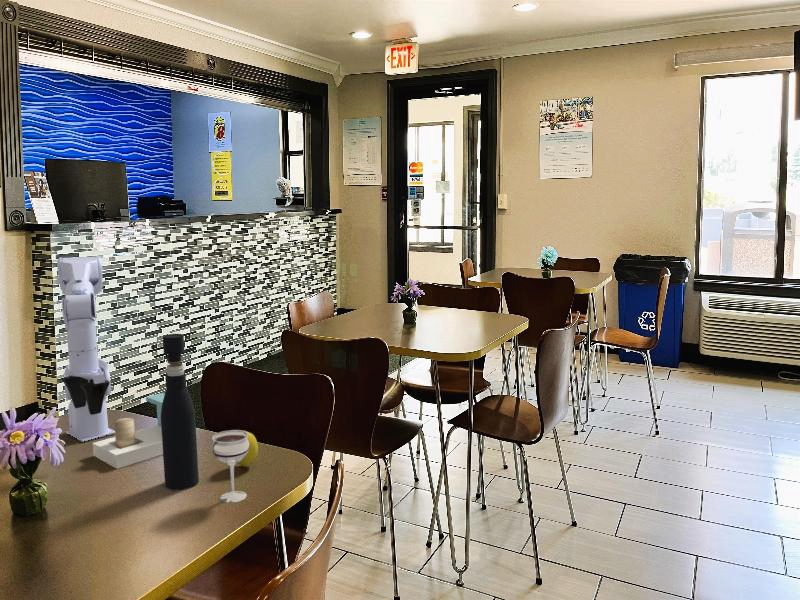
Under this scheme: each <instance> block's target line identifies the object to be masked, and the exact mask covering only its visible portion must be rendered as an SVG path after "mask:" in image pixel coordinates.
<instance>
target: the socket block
mask: <svg viewBox="0 0 800 600" xmlns="http://www.w3.org/2000/svg"><path fill="white" fill-rule="evenodd" d="M164 395H165V393H163V392H161V393H156V394H152V395H147V396H145V402H148V403H151V404H153V405H156V417H157V425H153V426H149V427H148V426H147V427H146V428H141V429H138V430H135V441H136V445H133V446H129V447H126V448H123V449H119V448H117V447H116V438H115V436H114V437H109V438H106V439H103V440H98V441H95V442H92V453H93V455H92V456H93V457H94V456H96V457H97V459H98V458H99V460H100V461H102V462H104V463H105V462H106V463H105V464H107V465H109V466H110V467H113V468H115V469H116V470H118V469H121V468H124V467H127V466H130V465H133V464H136V463H137V464H138V463H140V462H144V461H146V460H149V459H153V458H156V457H158V456H163V445H162V429H161V409H162V402H163V399H164ZM96 457H95V458H96Z"/></svg>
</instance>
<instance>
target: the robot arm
mask: <svg viewBox="0 0 800 600" xmlns="http://www.w3.org/2000/svg"><path fill="white" fill-rule="evenodd" d="M56 265H57V276H58V281H59V286H60V287H59V288H60V290H61V293H62V295H64V297H62V298H61V312H62V319H63V322H64V329H65V331H66V341H67V342H66V343H67V353H68V364H67V365H65V369H64V373H63V375H64V377H61V381H62V382H63V385H64V392H65V399H67V400H69V401H70V402H69V404H68V407H67V408H68V409H67V411H68V422H69V430H67V431H65V433H66V435H68V434H70V435H71V437H72V436H73V437H72V438H74V437H75V439H76V438H77V439H76V440H78V441H79V442H82V443H83V442H84V441H85V442H88V440H89V441H92V440H96V439H99V438H103V437H107V436H111V435H114V434H115V429H114V430H113V429H112V428H109V422H108V420H109V419H108V410H107V407H108V406H107V396H110V394H111V393H112V386H111V375H110V374H111V373H110V367H109V364H108V362H106V361H104V360H103V359H101V358H99V355H98V353H99V352H98V342H97V340H98V339H97V327H96V325H97V324H96V320H97V316H98V314H97V313H98V312H97V311H98V310H97V300H96V295H98V294H100V293H101V292H102V290H103V287H104V286H103V278H104V276H103V265H102V258H101V257H100V256H99V255H96V256H82V257H81V256H80V257H79V256H77V257H59V258H58V259H57V262H56ZM70 435H69V436H70ZM106 435H107V436H106ZM98 437H99V438H98ZM95 438H96V439H95ZM91 439H92V440H91ZM85 442H84V443H85Z"/></svg>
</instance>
